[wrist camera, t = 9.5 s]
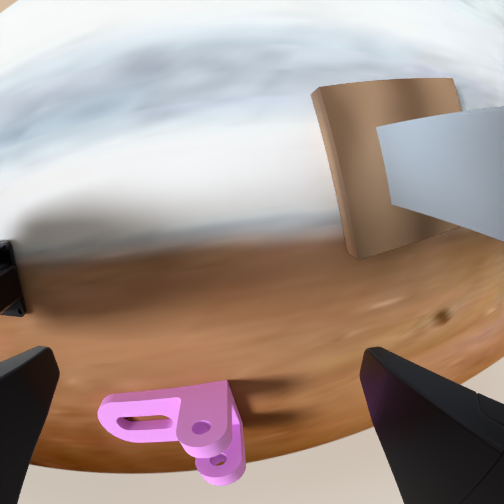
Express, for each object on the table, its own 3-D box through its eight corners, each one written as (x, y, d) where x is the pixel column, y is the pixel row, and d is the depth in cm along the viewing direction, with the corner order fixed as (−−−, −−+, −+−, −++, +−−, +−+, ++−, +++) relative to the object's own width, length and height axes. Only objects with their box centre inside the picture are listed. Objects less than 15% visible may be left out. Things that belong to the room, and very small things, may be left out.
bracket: (227, 378, 23) (227, 443, 17) (242, 422, 25) (247, 482, 18) (92, 393, 23) (66, 446, 16) (117, 432, 25) (101, 484, 18)
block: (391, 204, 18) (543, 258, 6) (375, 127, 17) (533, 104, 5) (447, 189, 18) (588, 226, 6) (434, 119, 17) (580, 109, 5)
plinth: (347, 252, 21) (358, 260, 19) (310, 94, 18) (319, 87, 16) (461, 216, 21) (477, 220, 19) (437, 82, 18) (452, 78, 16)
